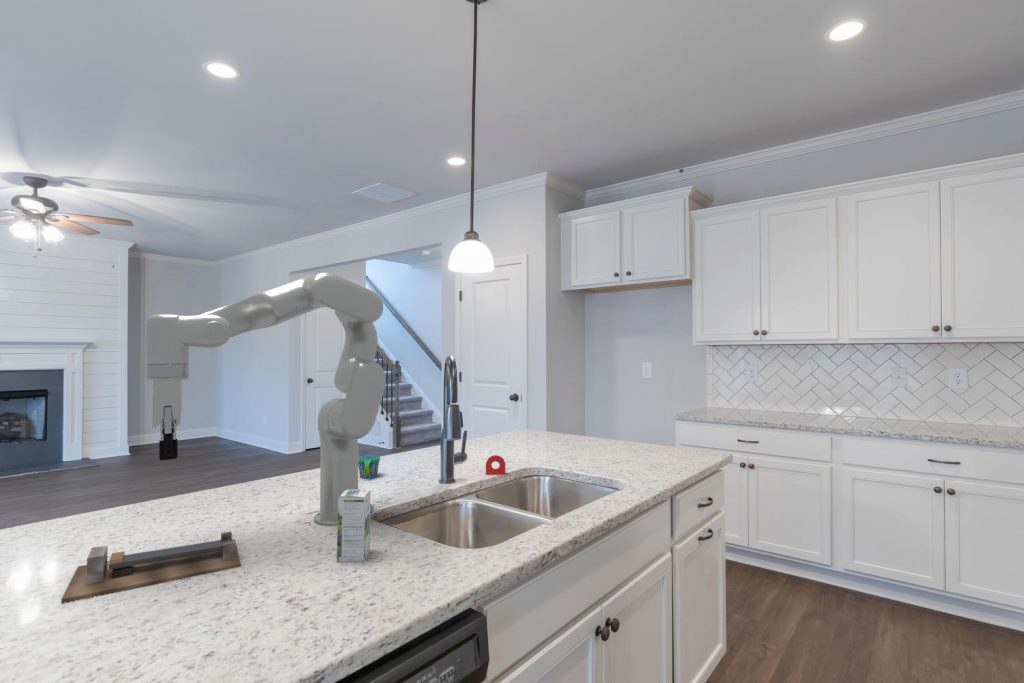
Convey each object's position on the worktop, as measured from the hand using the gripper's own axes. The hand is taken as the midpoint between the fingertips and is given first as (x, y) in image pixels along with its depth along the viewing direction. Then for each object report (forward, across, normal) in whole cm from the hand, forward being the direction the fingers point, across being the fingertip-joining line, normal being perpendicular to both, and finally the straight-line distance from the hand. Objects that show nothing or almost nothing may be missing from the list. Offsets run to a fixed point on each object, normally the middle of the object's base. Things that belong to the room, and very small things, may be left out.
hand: (168, 458), depth 109 cm
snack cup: (+23, -45, +57) cm, 76 cm away
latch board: (+22, +4, 0) cm, 22 cm away
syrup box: (+22, +20, +33) cm, 45 cm away
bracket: (+24, -20, +96) cm, 101 cm away
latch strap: (+19, +5, +10) cm, 22 cm away
